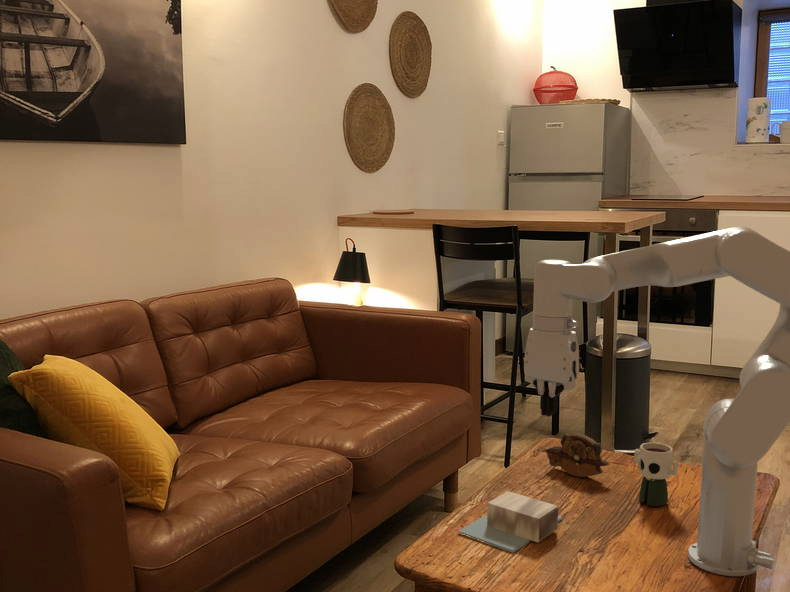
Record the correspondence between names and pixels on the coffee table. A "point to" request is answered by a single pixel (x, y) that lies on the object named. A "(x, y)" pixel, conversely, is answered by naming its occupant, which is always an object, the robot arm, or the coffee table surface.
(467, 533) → the grey mat
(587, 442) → the wooden carving
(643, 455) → the character mug
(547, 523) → the birch block
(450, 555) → the coffee table surface
